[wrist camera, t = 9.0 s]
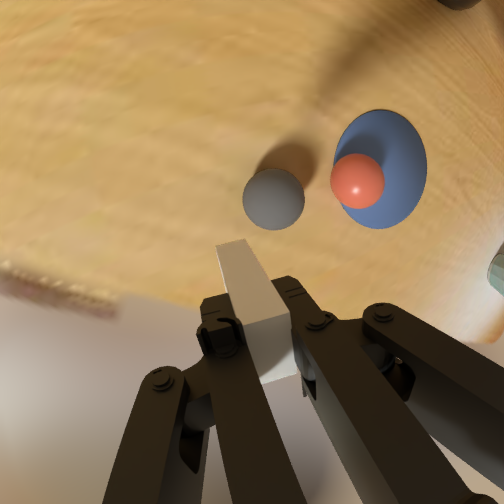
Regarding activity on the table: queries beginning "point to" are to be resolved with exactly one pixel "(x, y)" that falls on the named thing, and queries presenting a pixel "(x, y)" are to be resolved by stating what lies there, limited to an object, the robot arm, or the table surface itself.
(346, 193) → the red ball
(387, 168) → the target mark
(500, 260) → the disposable coffee cup
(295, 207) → the grey ball
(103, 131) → the table surface
